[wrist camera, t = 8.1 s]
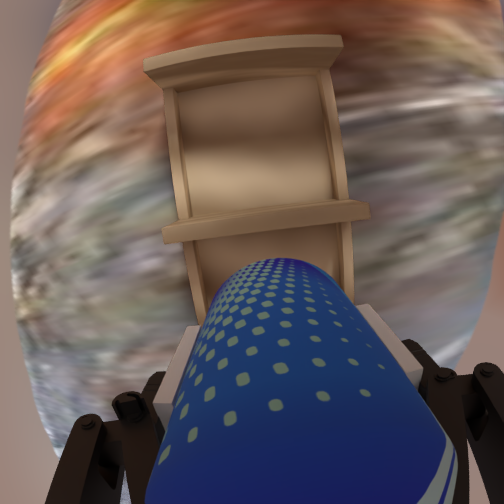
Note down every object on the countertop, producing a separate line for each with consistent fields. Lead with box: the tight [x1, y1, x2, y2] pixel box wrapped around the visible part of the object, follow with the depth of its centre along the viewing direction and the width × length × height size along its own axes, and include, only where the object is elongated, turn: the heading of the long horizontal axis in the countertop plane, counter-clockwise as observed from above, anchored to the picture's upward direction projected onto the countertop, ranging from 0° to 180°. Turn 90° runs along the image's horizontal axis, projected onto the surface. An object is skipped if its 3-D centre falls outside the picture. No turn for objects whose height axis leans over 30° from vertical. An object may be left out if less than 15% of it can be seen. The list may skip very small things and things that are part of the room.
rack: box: [143, 34, 370, 329], centre depth 22 cm, size 24×13×7 cm, turn 7°
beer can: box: [145, 258, 458, 504], centre depth 11 cm, size 8×8×16 cm
